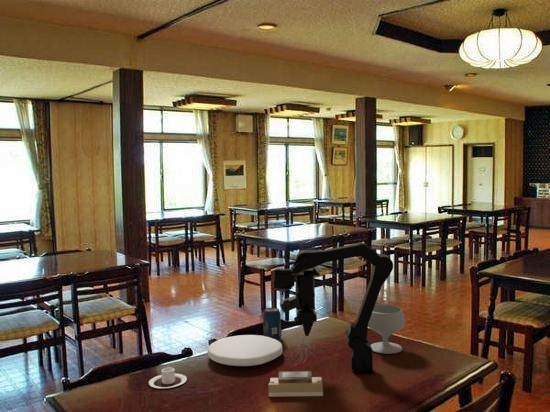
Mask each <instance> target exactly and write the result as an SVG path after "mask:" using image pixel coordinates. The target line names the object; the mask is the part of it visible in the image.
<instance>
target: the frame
mask: <svg viewBox="0 0 550 412" xmlns="http://www.w3.org/2000/svg"><path fill="white" fill-rule="evenodd" d="M312 377H313V375H312V371H311V370H305V371H304V370H302V371H301V370H299V371H298V370H297V371H296V370H295V371H294V370H293V371H278V377H277V378H278V383H312Z"/></svg>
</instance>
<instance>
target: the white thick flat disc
mask: <svg viewBox="0 0 550 412" xmlns="http://www.w3.org/2000/svg"><path fill="white" fill-rule="evenodd" d="M282 353H283V344H282V342H281V341H280V340H278V341H277V340H276V339H273V338H270V337H266V336H264V335H259V334H242V335H241V334H240V335H233V336H228V337H223V338H220V339H218V340H217V339H216V341H214V342H212V343H210V344H209V346H208V347H207V355H208V356H207V357H208V358H209V359H211V360H212V361H213V362H215V363H218V364H221V365H226V366H232V367H233V366H235V367H251V366H252V367H253V366H258V365H259V366H260V365H263V364H267V363H268V362H271V361H273V360H275V359H276V358H278V357H280V356H281V355H282Z"/></svg>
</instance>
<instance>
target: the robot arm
mask: <svg viewBox="0 0 550 412" xmlns="http://www.w3.org/2000/svg"><path fill="white" fill-rule="evenodd" d="M356 257H361V258H362V259H364V260H365V261H367V262H368V263H369V264H371V268H370V279H369V282H368V285H367V287H366V290H365V293H364V296H363V299H362V301H361V303H360V307H359V310H358V313H357V315H356V317H355V320H354V321H353V322H352V321H350V320H349V321H348V324H347V325H348V326H347V329H346V330H345V332H344V334H345V338H346V340H347V341H346V342H347V345H348V347H349V348H350V349H351V352H352V353H351V354H352V355H350V369H351V371H352V372H353V374H354V375H359V374H360V375H362V374H366V375H367V374H369V375H370V374H372V375H373V374H374V373H375V371H374V369H373V365H374V364H373V352H374V351H373V350H372V348H371V344H370V341H369V340H368V339H367V338H368V332H369V331H368V329H369V327H368V323H369V320H370V318H371V315H372V312H373V309H374V307H375V305H377V304H376V303H377V301H378V297H379V295H380V292H381V289H382V286H383V285H384V284H385V282H386V281H387V280H388V278H389V276H390V275H391V273H392V271H394V270H393V269H394V262H393V260H392V259H391V258H390V257H389V256H388V255H387V254H384V253H378V252H377V251H375V250H373V249H372V248H370V247H368V246H367V245H366V244H365V243H363V242H356V243H353V244H348V245H343V246H337V247H333V248H332V247H331V248H326V249H302V250H299V251H298V253H297V254H296V259H295V262H294V263H293V264H292V266H291V267H290V268H283V269H282V268H275V269H274V278H273V288H274V290H277V291H279V290H282V291H283V290H287V291H288V290H292V289H293V288H294V287H295V285H296V291H295V295H292V296H290V297H288V298H285V299H282V300H281V301H279V305H280V308H281V311H282V313H284V314H286V313H287V312H290V311H292V310H297V312H296V322H297V323H302V324H301V325H302V327H303V328H302V329H303V332H304V336H305V337H310V336H309V335H310V334H311V331H312V328H313V325H314V323H317V321H318V318H317V316H318V315H317V312H316V311H315V310H316V302H315V301H316V299H315V296H316V293H315V277H320V275H321V274H320V271H319V270H317V269H316V267H319V266H321V265H322V264H326V263H329V262H336V261H341V260H346V259H351V258H356ZM295 278H296V279H295ZM295 281H296V282H295ZM295 283H296V284H295Z"/></svg>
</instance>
